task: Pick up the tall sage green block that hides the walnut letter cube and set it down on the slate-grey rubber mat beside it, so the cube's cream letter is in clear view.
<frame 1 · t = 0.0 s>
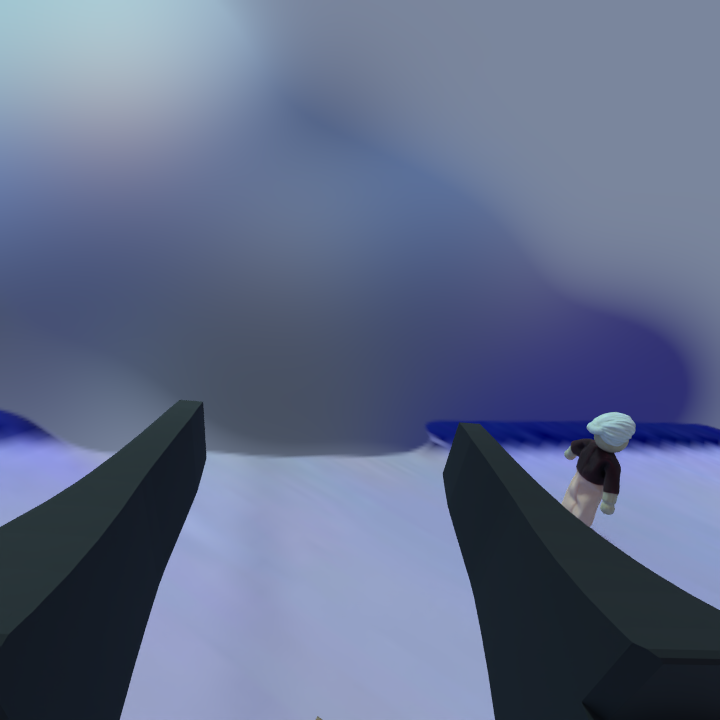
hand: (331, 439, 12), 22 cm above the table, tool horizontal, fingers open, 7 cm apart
grandmother figurine: (568, 526, 41), on the table
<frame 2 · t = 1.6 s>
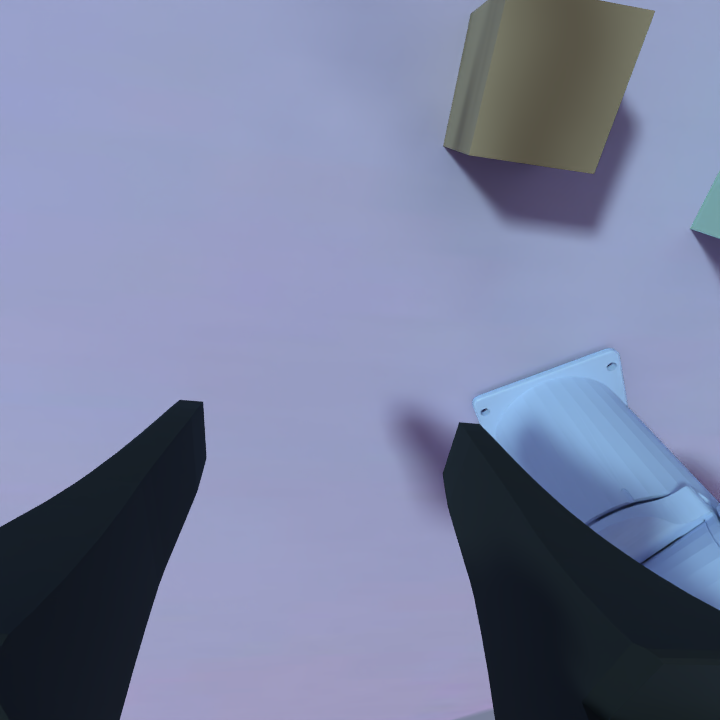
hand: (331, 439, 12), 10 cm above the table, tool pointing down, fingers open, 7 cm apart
letter cube: (509, 93, 17), on the table
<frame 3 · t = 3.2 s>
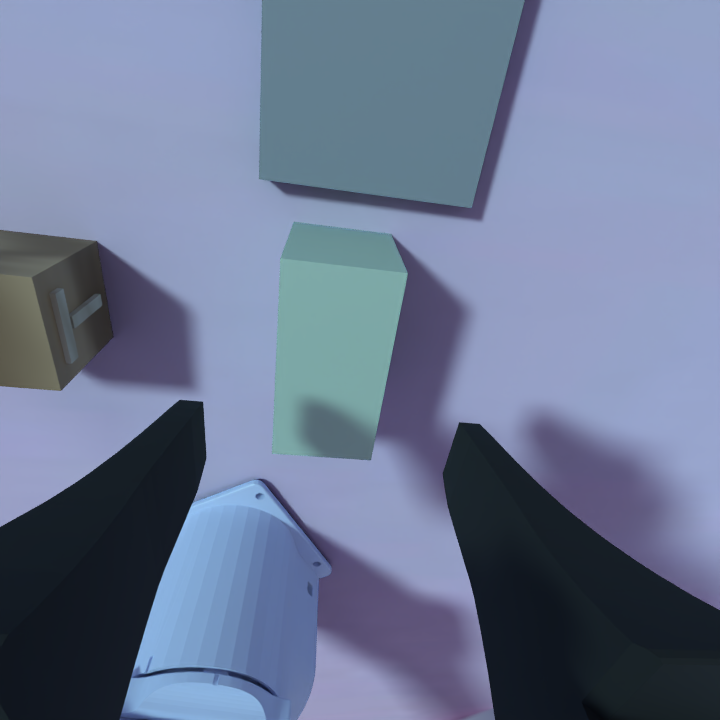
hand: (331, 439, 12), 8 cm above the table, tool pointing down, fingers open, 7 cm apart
letter cube: (52, 285, 18), on the table
rubber mat: (390, 13, 14), on the table
tall sage green block: (333, 315, 20), on the table
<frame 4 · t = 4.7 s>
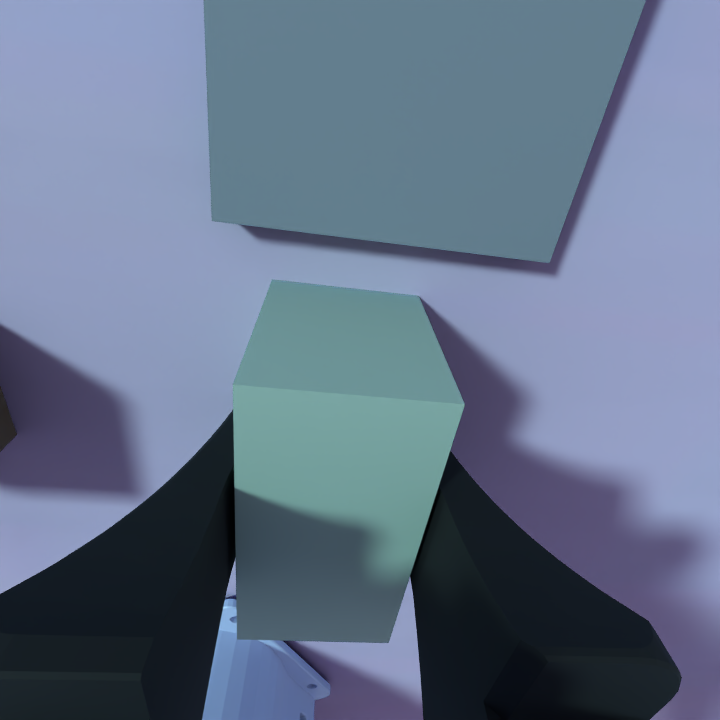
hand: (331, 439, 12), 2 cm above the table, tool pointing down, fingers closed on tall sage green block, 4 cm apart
tall sage green block: (331, 406, 14), on the table, touching gripper
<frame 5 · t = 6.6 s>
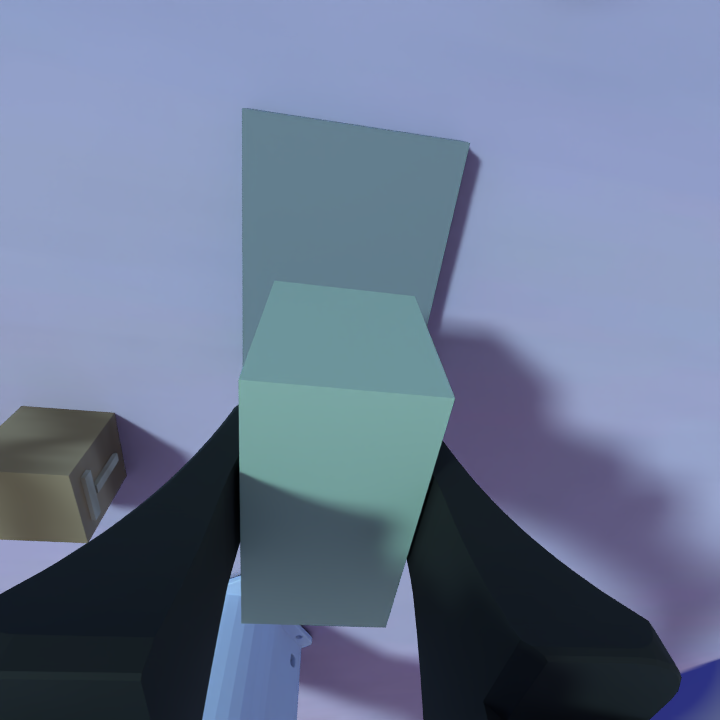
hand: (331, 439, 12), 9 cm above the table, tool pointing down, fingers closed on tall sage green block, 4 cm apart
letter cube: (77, 441, 23), on the table
rubber mat: (341, 269, 19), on the table
tall sage green block: (331, 402, 14), point 6 cm above the table, touching gripper
when the fingers open (4 cm above the table, at t = 8.6 s): tall sage green block stays where it is, resting on rubber mat.
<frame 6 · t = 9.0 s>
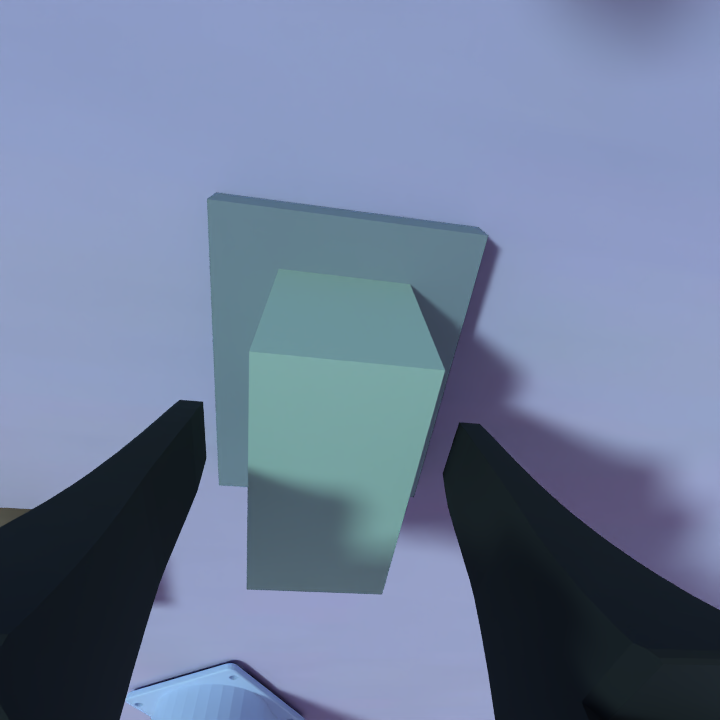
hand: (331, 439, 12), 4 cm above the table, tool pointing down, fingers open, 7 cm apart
letter cube: (35, 539, 20), on the table
rubber mat: (332, 364, 16), on the table
tall sage green block: (331, 385, 15), point 1 cm above the table, touching rubber mat
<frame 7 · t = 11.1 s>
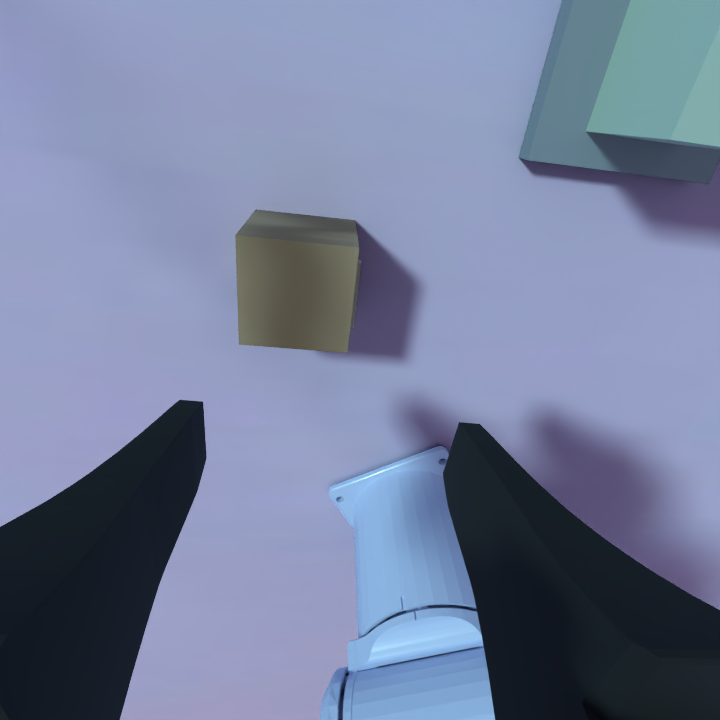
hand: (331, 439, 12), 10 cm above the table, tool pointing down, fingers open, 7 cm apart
letter cube: (303, 262, 20), on the table
rubber mat: (667, 8, 16), on the table
tall sage green block: (682, 11, 15), point 1 cm above the table, touching rubber mat
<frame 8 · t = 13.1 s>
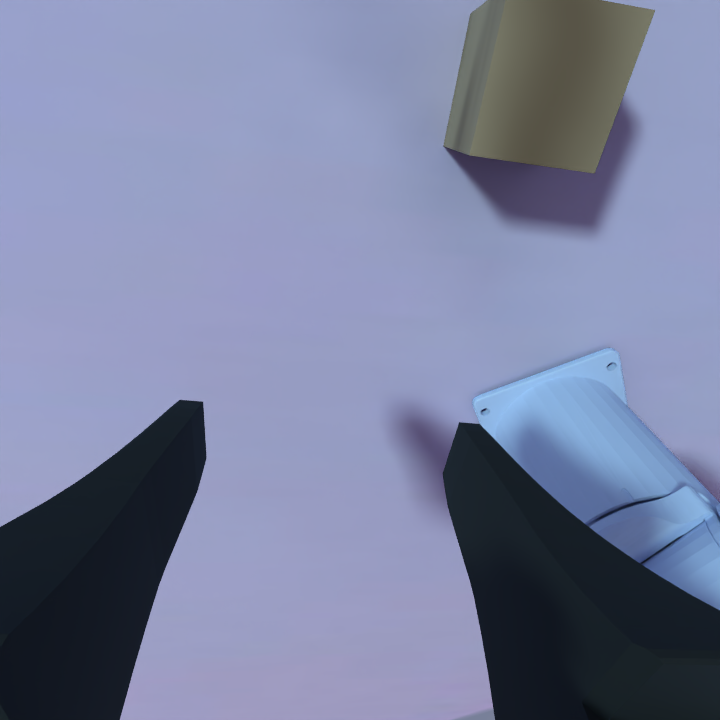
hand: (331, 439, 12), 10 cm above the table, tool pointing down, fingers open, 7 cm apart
letter cube: (509, 92, 17), on the table
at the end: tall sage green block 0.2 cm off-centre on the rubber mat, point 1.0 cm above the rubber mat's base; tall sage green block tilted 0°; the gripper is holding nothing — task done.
